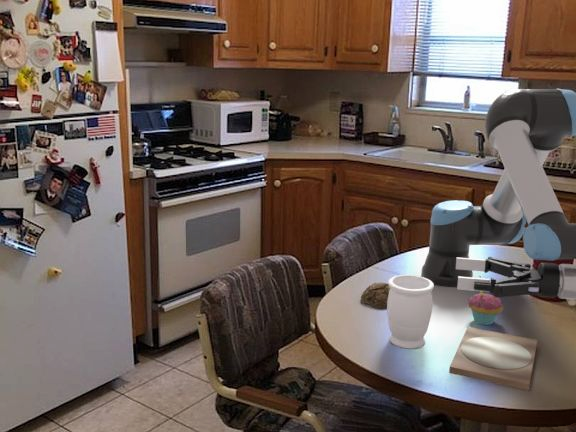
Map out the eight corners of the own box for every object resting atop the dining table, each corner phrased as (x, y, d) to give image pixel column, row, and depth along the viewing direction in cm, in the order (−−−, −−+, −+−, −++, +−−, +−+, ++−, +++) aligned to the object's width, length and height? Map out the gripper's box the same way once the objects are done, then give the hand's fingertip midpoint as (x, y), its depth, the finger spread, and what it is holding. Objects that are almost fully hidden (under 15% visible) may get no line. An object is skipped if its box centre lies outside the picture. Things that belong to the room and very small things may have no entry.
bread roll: (376, 289, 179) (376, 273, 178) (414, 300, 171) (415, 283, 170) (351, 302, 170) (352, 285, 168) (390, 314, 162) (391, 296, 161)
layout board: (467, 332, 151) (467, 326, 151) (536, 345, 145) (537, 339, 144) (449, 372, 132) (449, 365, 132) (528, 390, 126) (529, 383, 125)
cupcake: (465, 324, 156) (469, 280, 152) (467, 312, 163) (471, 269, 160) (501, 330, 153) (506, 284, 150) (502, 316, 160) (506, 273, 157)
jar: (429, 353, 140) (434, 292, 137) (384, 349, 142) (387, 288, 139) (429, 333, 150) (433, 275, 147) (386, 329, 152) (389, 272, 149)
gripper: (566, 319, 123) (457, 309, 128) (546, 278, 147) (454, 270, 152) (571, 284, 122) (459, 274, 126) (549, 248, 145) (456, 241, 150)
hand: (456, 272), depth 139 cm, fingers open, 13 cm apart
